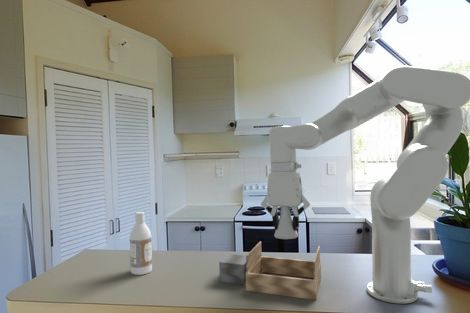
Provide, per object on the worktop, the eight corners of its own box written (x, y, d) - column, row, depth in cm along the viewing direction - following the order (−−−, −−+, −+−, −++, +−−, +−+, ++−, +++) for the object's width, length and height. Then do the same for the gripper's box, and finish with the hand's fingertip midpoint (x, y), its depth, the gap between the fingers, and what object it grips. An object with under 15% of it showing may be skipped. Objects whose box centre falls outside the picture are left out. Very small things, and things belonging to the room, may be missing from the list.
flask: (298, 240, 92) (297, 205, 92) (273, 240, 93) (271, 205, 93) (298, 233, 99) (297, 201, 99) (275, 233, 100) (273, 201, 100)
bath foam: (143, 276, 104) (141, 215, 104) (126, 273, 107) (124, 213, 107) (156, 269, 111) (154, 211, 110) (140, 266, 113) (138, 210, 113)
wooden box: (321, 277, 101) (320, 245, 100) (316, 299, 86) (315, 262, 86) (260, 270, 107) (259, 240, 107) (245, 290, 92) (245, 255, 92)
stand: (252, 274, 104) (251, 256, 104) (244, 284, 97) (244, 264, 96) (228, 271, 107) (228, 253, 107) (219, 281, 99) (219, 262, 99)
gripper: (314, 166, 96) (316, 227, 97) (259, 167, 102) (261, 225, 102) (311, 168, 89) (313, 233, 90) (252, 169, 95) (255, 231, 95)
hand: (285, 228), depth 96 cm, fingers closed on flask, 4 cm apart
